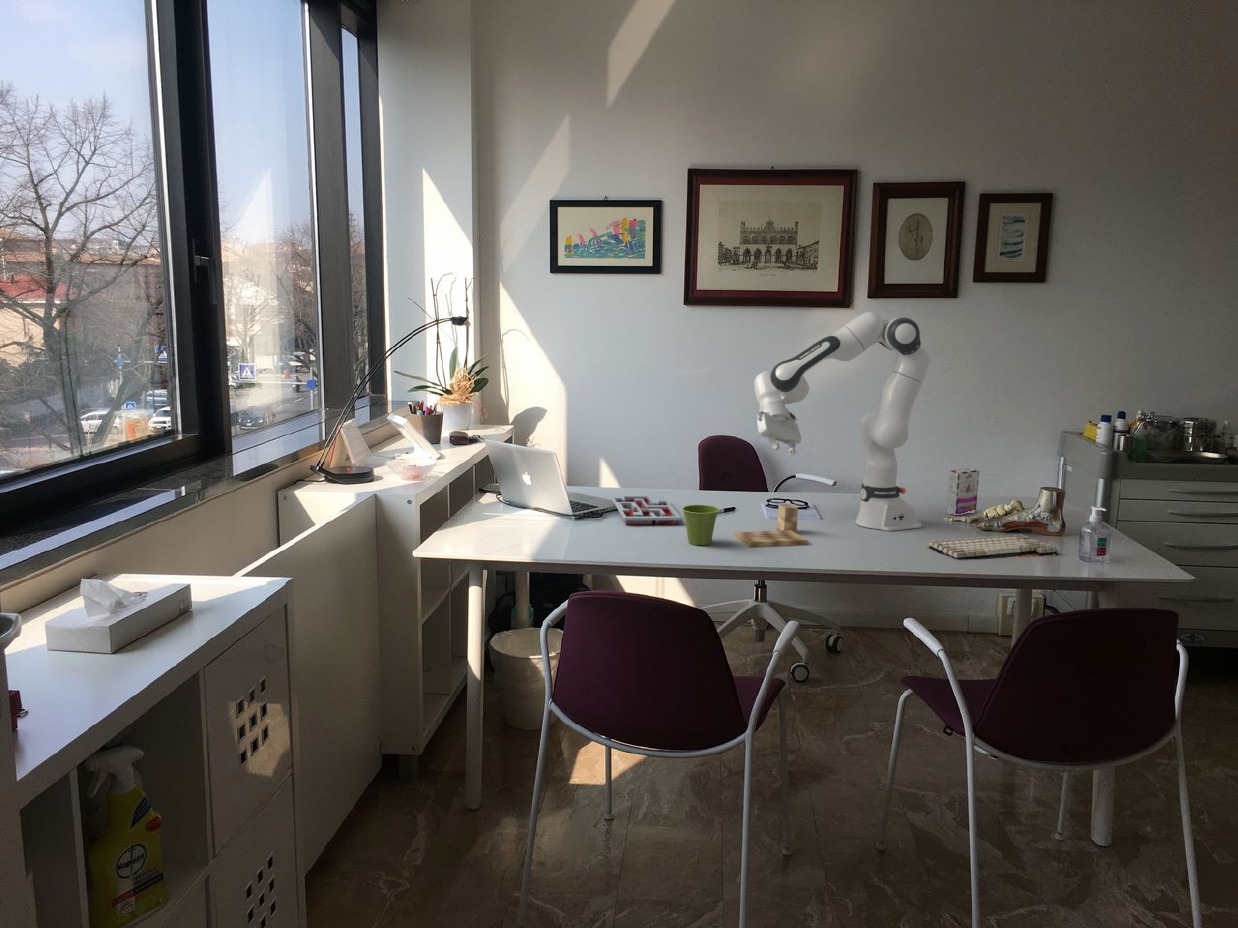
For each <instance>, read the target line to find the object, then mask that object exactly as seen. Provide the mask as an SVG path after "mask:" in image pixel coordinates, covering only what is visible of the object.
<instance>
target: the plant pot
mask: <svg viewBox="0 0 1238 928" xmlns="http://www.w3.org/2000/svg"><path fill="white" fill-rule="evenodd" d="M681 510H682V511H683V517H684V519H685V526H686V533H687V541H688V543H689V544H690V545H692V546H699V545H700V546H709V545H711V544H712V540H713V536H714V535H713V533H714V529H715V523H716V520H717V516H718V513H719V512H720V508H718V507H717V506H714V505H708V504H689V505H685V506H683V507H681Z"/></svg>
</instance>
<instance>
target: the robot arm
mask: <svg viewBox="0 0 1238 928" xmlns="http://www.w3.org/2000/svg"><path fill="white" fill-rule="evenodd" d="M877 343H879V344H880V345H882V347H884V348H886V349H887V350H890V351H894V352H895V356H896V357H895V363H894V365H893V366H892V369H891V371H890V373H889V376H888V378H887V380H886V383H885V385H884V387H883V389H882V391H881V404H880V408H879V411H872V412H868V413H866V414H865V415H864V416H862V418H861V421H860V424H859V429H860V431H861V439H862V440H861V441H862V451H863V461H864V463H863V478H862V483H861V488H860V504H859V508H858V509H859V510H858V513H857V517H856V519H855V524H856V525H857V526H860V527H864V528H868V529H869V528H870V529H874V530H881V531H882V530H883V531H888V532H892V531H894V532H895V531H901V530H908V529H910V530H911V529H920V528H922V523H921V522H920V521H918V520H916V513H915V512H916V511H915V509H914V507H912V505H911V504H909V503H908V502H907V501H906V500H905V499H903V497H901V496H900V493H901V494H903V495H904V494H906V491H907V489H906V488H905V487H902V486H900V487H899V486H898V485H897V476H898V475H897V473H898V461H897V458H896V453H895V449H897V448H900V447H902V446H903V445H905V444H906V442H907V440H908V438H909V423H910V420H911V419H910V418H911V414H912V410H913V407H914V403H915V401H916V398H917V396H918V395H919V392H920V389H921V387H922V385H923V383H924V380H925V378H926V375H927V372H928V370H929V365H930V361H931V355H930V353H929V351H928V350H927V349H925V348H924V347H923V346H922V342H921V333H920V328H919V326H918V324H917V322H916V321H915V320H912V319H911V318H908V317H895V318H891V319H886V320H885V319H883V318H882V317H881V315H880V314H878V313H876V312H874V311H866V312H863V313H862V314H860V315H858V316H857V317H855V318H853V319H851V320H850V321H849V322H847V323H846V324H845V325H844V326H842V327H841V328H840V329H838V330H837V331H835V332H834V333H832V334H830V335H828V336H826V337H823V338H822V339H820V340H818V341H816V342H815V343H813V344H812V345H811V346H809V347H808V348H806V349H805V350H803V351H802V352H800V353H798V354H796V355H795V356H794V357H791V358H789V359H785V360H782V361H780V362H778V363H777V364H776V365H774V367H773V368H772V369H771V370H765V371H762V372H760V373H759V374H757V375H756V377H755V378H754V381H753V388H754V394H755V397H756V402H757V404H758V405H759V410H758V411H757V412H756V416H757V418H756V424H757V429H758V433H759V434H760V436H761V437H764V438H767V440H768V442H769V443H770V445H771V446H772V450H776V451H777V450H780V448H781V447H780V444H779V443H782V444H786V445H787V446H788V447H789V449H788V453H789V455H790V456H791V455H792V456H794V455H795V454H796V453H797V452H796V451H797V450H796V446H797V445H799V444H801V442H802V436H801V435H802V434H801V431H800V428H799V425H798V423H796V422H797V419H798V418H797V416H796V415H795V414H793V413H792V412H791V411H790V409H788V407H786V405H789V404H793V403H798V402H800V401H803V400H804V399H805V398H806V397H807V395H808V393H809V389H810V387H809V383H808V381H807V379H805V376H804V375H805V373H807V372H808V371H809V370H811V369H813V368H814V367H815V366H817V365H818V364H819V363H822V362H823V361H826V360H829V359H834V360H837V361H841V362H849V361H853V359H855V358H857V357H859V356H860V355H862V354H863V353H865V352H866V351H867V350H868V349H869V348H871V346H874V345H875V344H877ZM778 442H779V443H778Z"/></svg>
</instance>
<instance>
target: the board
mask: <svg viewBox="0 0 1238 928" xmlns="http://www.w3.org/2000/svg"><path fill="white" fill-rule="evenodd" d="M733 534H734V535H733V537H734V538H735V539H736V540H737V541H739V542H741V543H742V544H744V545H745V546H747V547H748V548H761V547H762V548H763V547H764V548H766V547H785V546H805V545H808V543H809V540H808V539H807V538H806V537H803V536H802V535H800V534H798V533H795V532H793V531H792V530H778V531H777V530H763V531H762V530H760V531H759V530H758V531H757V530H756V531H737V532H736V531H735V532H734V533H733Z"/></svg>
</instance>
